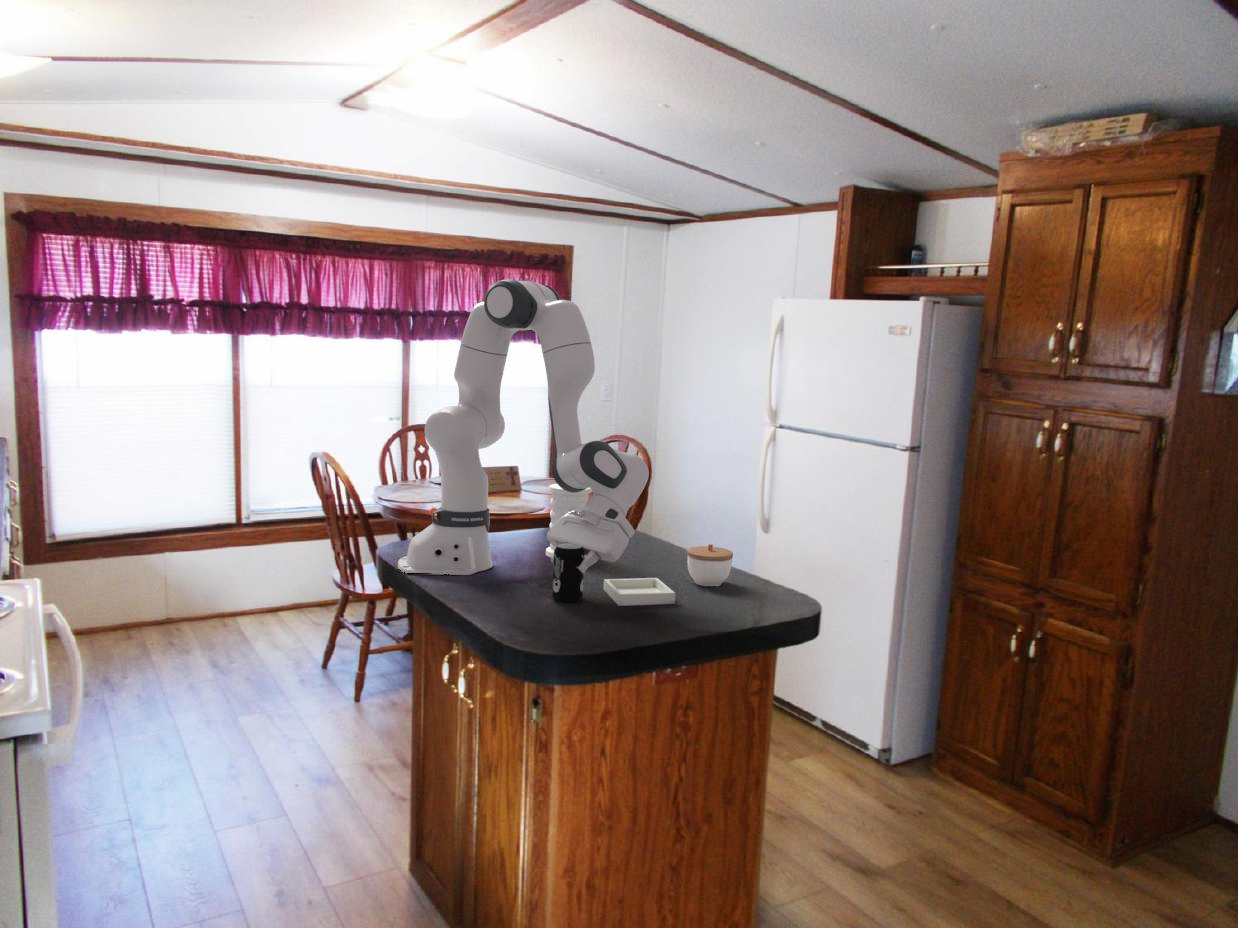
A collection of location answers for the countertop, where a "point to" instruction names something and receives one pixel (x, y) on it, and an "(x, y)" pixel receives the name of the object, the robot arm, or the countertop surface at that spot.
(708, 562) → the lidded jar
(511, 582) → the countertop surface
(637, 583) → the tray
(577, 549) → the beverage can
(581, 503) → the decorative container
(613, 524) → the robot arm
